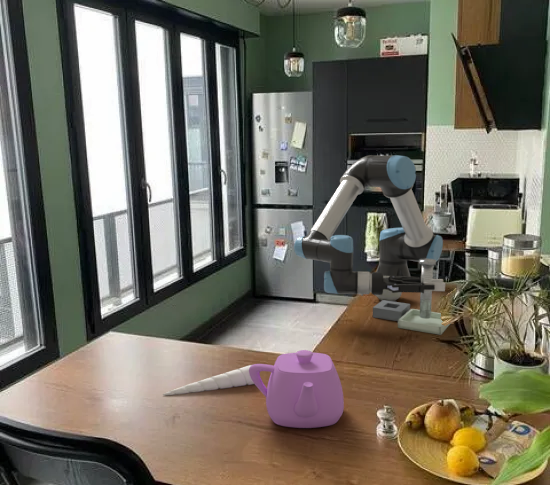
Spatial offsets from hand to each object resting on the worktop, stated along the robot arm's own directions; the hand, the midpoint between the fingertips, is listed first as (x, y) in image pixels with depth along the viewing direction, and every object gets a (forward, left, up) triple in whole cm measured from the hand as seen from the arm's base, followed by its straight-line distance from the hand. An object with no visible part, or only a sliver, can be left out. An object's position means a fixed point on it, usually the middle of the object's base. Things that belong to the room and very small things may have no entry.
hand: (443, 285), depth 177 cm
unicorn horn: (+74, -37, -14) cm, 84 cm away
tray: (+2, -5, -14) cm, 15 cm away
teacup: (-19, -27, -14) cm, 36 cm away
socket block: (-2, -18, -14) cm, 23 cm away
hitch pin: (+2, -5, -11) cm, 12 cm away
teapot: (+75, -11, -14) cm, 77 cm away
